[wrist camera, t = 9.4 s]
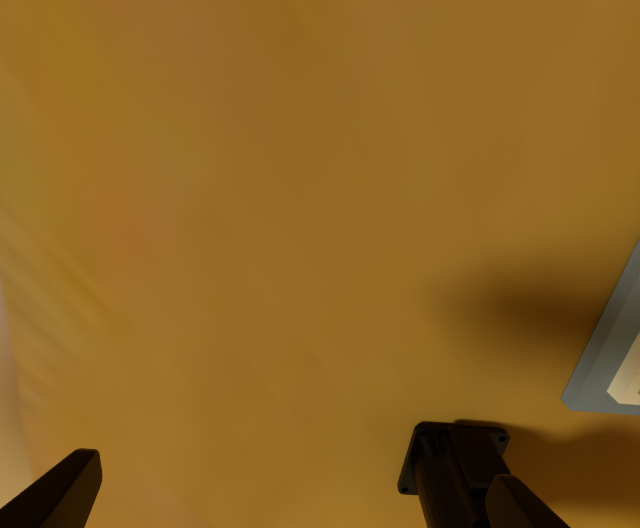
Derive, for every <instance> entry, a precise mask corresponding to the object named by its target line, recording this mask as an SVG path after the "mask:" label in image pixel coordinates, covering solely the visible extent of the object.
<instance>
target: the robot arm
mask: <svg viewBox="0 0 640 528" xmlns="http://www.w3.org/2000/svg"><path fill="white" fill-rule="evenodd" d="M422 431H423V432H422ZM509 440H510V436H509V434H508V433H507V431H506V430H505V429H498V428H483V427H469V426H454V425H439V424H425V423H422V424H418V425H417V426H415V428H414V431H413V434H412V438H411V441H410V444H409V448H408V451H407V454H406V457H405V461H404V464H403V467H402V471H401V474H400V477H399V480H398V484H397V487H398V491H399V493H401V494H406V495H418V496H419V500H420V503H421V507H422V510H423V514H424V517H425V521H426V524H427V528H570V527H569V526H568V525H567V524H566V523H565V522H564V521H563V520H562V519H561V518H560V517H559V516H558V515H557V514H556V513H554V512H553V511H552V510H551V509H550V508H549V507H548V506H547V505H546V504H545V503H544V502H543V501H542V500H541V499H540V498H539V497H538V496H537V495H535V494H534V493H533V492H532V491H531V490H530V489H529V488H528V487H527V486H526V485H525V484H524V483H523V482H522V481H521V480H520V479H518V478H517V477H516V476H514V475H512V474H511V472H510V470H509V469H508V467H507V465H506V463H505V461H504V460H503V458H502V455H503V453H504V451H505V448H506V446H507V444H508V442H509ZM101 483H102V468H101V461H100V454H99V452H98V450H96V449H84V448H81V449H77V450H75V451H73V452H72V453H71V454H69V455H68V456H67V457H66V458H64V459H63V460H62V461H60V462H59V463H58V464H57V465H55V466H54V467H53V468H52V469H50V470H49V471H48V472H46V473H45V474H44V475H43V476H41V477H40V478H39V479H38V480H36V481H35V482H34V483H33V484H31V485H30V486H29V487H28V488H26V489H25V490H24V491H22V492H21V493H20V494H19V495H17V496H16V497H15V498H13V499H12V500H11V501H10V502H8V503H7V504H6V505H5V506H3V507H2V508H1V509H0V528H84V527H85V524H86V522H87V519H88V517H89V514H90V512H91V509H92V507H93V504H94V502H95V499H96V496H97V494H98V491H99V489H100V486H101Z"/></svg>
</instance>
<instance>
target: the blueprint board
mask: <svg viewBox="0 0 640 528" xmlns="http://www.w3.org/2000/svg"><path fill="white" fill-rule="evenodd" d="M561 400H562V401H563V402H564V404H565V405H566V406H567V407H568V408H569V409H570V410H572V411H586V412H600V413H613V414H627V415H640V238H639V240H638V242H637V244H636V247H635V249H634V251H633V253H632V255H631V257H630V259H629V261H628V263H627V265H626V267H625V269H624V271H623V273H622V275H621V277H620V279H619V281H618V283H617V285H616V287H615V289H614V291H613V293H612V295H611V297H610V299H609V301H608V303H607V305H606V307H605V309H604V311H603V314H602V316H601V318H600V320H599V322H598V324H597V326H596V328H595V330H594V332H593V334H592V336H591V338H590V340H589V342H588V344H587V346H586V348H585V350H584V352H583V354H582V356H581V358H580V360H579V362H578V364H577V366H576V368H575V370H574V372H573V374H572V376H571V379H570V381H569V383H568V385H567V387H566V389H565V391H564V393H563V395H562V397H561Z"/></svg>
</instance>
